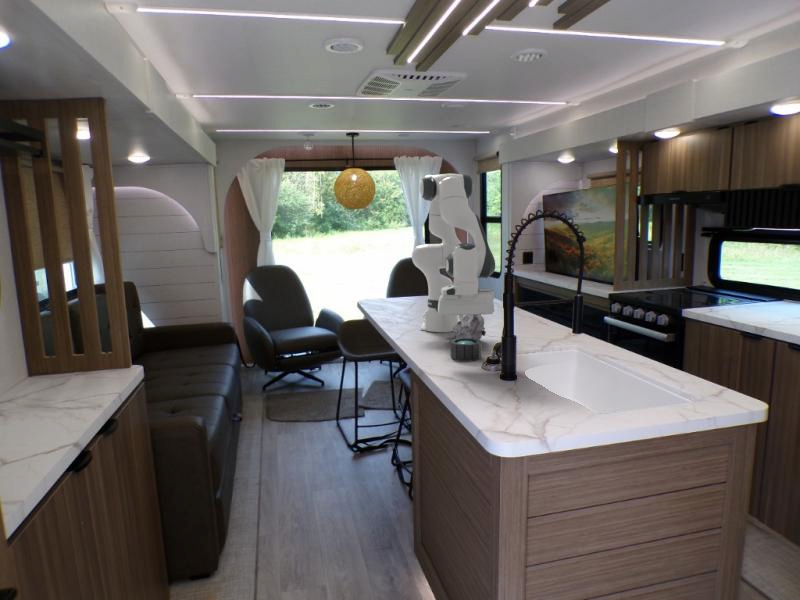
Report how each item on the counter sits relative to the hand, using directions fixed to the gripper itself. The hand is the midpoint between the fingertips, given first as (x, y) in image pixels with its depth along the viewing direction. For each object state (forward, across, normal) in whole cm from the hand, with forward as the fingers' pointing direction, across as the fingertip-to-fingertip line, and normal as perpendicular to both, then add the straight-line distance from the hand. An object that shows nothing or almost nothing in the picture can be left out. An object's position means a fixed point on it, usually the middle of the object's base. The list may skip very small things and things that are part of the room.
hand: (465, 326), depth 195 cm
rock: (+12, -4, -24) cm, 27 cm away
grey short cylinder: (+11, 0, 0) cm, 11 cm away
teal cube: (+11, 0, 0) cm, 11 cm away
